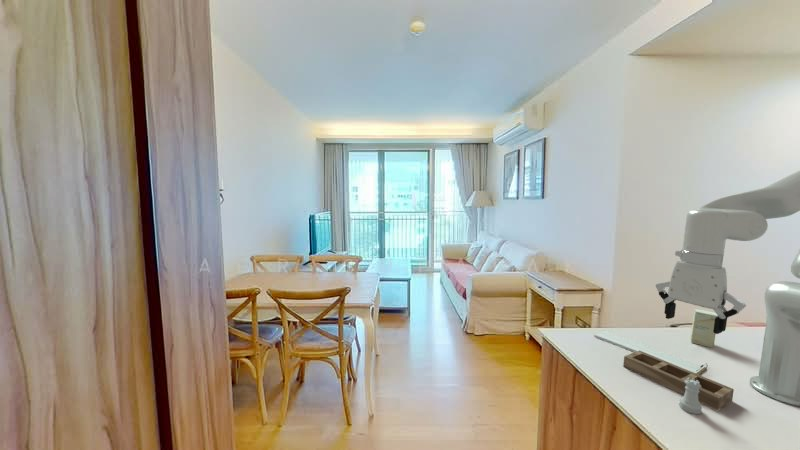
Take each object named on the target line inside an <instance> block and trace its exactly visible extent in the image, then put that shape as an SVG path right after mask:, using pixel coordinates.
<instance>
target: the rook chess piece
mask: <svg viewBox="0 0 800 450" xmlns="http://www.w3.org/2000/svg"><path fill="white" fill-rule="evenodd" d="M684 382H685V383H686V386H685V388H686V391H685V394H684V395H683V396H682V398H679V402H678V405H679V407H680V408H681V409H682V410H683V411H684V412H686V413H689V414H690V415H700V414H702V412H703V411H702V405H701V403H700V402H699V400H698V393H699V392H700V391H699V388H701V385H700V382H699V381H698V380H696V381H695V379H694V378H692V380H691V378H687V380H685V381H684Z"/></svg>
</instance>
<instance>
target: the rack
mask: <svg viewBox="0 0 800 450" xmlns="http://www.w3.org/2000/svg"><path fill="white" fill-rule="evenodd" d="M622 366H623V367H624V368H626V369H628V370H630V371H631V372H634V373H636V374H639V375H641V376H642V377H645V378H647V379H649V380H651V381H653V382H656V383H658V384H660V385H662V386H663V387H666V388H668V389H670V390H673V391H674V392H677V393H678V394H681V395H683V396H684V394H685V391H686V388H685V386H686V383H685V382H684V381H685V380H687V378H691V380H692V378H694V379H695V381H696V380H698V381H699V382H700V385H701V388H699V391H700V392H699V393H698V400H699V402H700V404H702V405H704V406H707V407H708V408H710V409H713V410H715V411H717V412H718V411H719V410H721V409H723V408H724V407H726V406H727V405H729V404H730V403H732V402H733V398H734V397H733V396H734V391H735V390H734V388H732V387H729V386H727V385H725V384H723V383H719V382H717V381H716V380H712V379H710V378H708V377H706V376H704V375H703V376H702V375H700V374H696V373H693V372H691V371H688V370H686V369H684V368H681V367H679V366H676V365H674V364H671V363H669V362H667V361H664V360H662V359H659V358H657V357H654V356H652V355H650V354H647V353H645V352H642V351H640V350H639V351H637V352H632V353H629V354H625V355H624V356H623V365H622Z"/></svg>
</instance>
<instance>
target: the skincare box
mask: <svg viewBox="0 0 800 450" xmlns="http://www.w3.org/2000/svg"><path fill="white" fill-rule="evenodd" d="M716 317H718V315H717V314H716V312H715V311H709V310H705V309H704V310H703V309H698V308H694V310H693V317H692V318H693V319H692V324H691V325H692V326H691V331H690V332H691V333H690V342H691V343H692V344H697V345H700V346H703V347H707V348H708V347H709V348H712V349H714V346H715V340H716V334H715V333H714V332H713V330H714V323H715V318H716Z"/></svg>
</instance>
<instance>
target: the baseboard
mask: <svg viewBox="0 0 800 450" xmlns="http://www.w3.org/2000/svg"><path fill="white" fill-rule="evenodd" d="M593 336H594V338H597V339H599V340H602V341H604V342H606V343H609V344H611V345H614V346H617V347H619V348H622V349H625V350H627V351H630V352H632V353H634V352H637V351H639V350H640V351H642V352H645V353H647V354H650V355H652V356H654V357H657V358H659V359H662V360H664V361H667V362H669V363H671V364H674V365H676V366H679V367H681V368H684V369H686V370H688V371H691V372H693V373H696V374H698V375H700V373H702V372H703V371H705V370H706V369H707V368H708V364H707V363H705V365H704V364H699V363H697V362H693V361H691V360H688V359H684V358H682V357H680V356H678V355H673V354H671V353H669V352H666V351H663V350H660V349H656V347H655V348H654V347H651V346H649V345H646V344H643V343H640V342H638V341H635V340H633V339H629V338H626V337H623V336H621V335H619V334H615V333H612V332H610V331H607V330H602V331H599V332H598V333H595V334H594V335H593Z"/></svg>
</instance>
